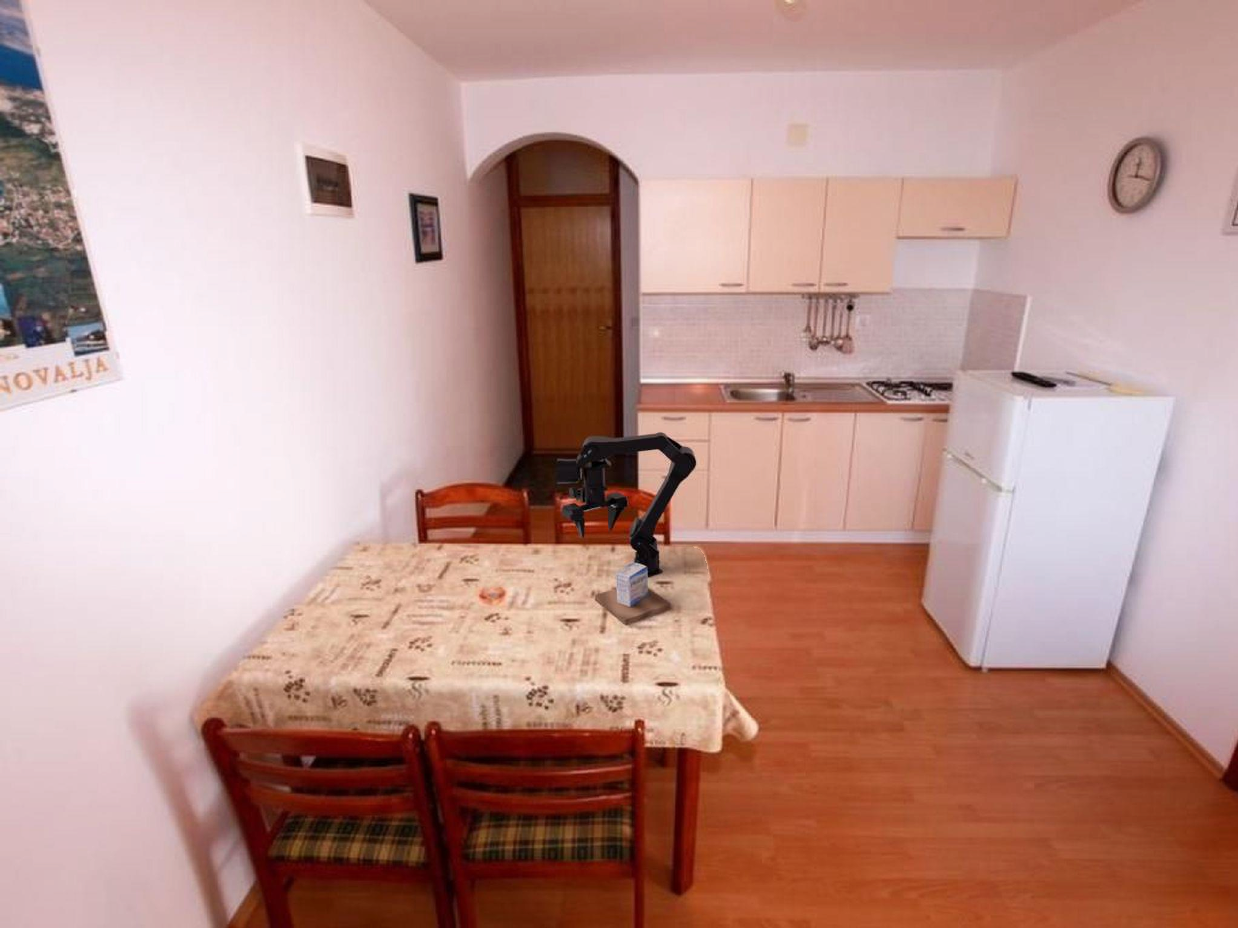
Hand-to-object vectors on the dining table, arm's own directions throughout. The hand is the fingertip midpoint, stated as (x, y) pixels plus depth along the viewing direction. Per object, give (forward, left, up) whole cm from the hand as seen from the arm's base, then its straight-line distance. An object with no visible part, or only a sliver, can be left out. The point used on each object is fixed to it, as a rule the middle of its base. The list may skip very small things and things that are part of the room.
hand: (596, 533), depth 186 cm
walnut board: (+2, +21, -12) cm, 24 cm away
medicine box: (+2, +21, -11) cm, 24 cm away
